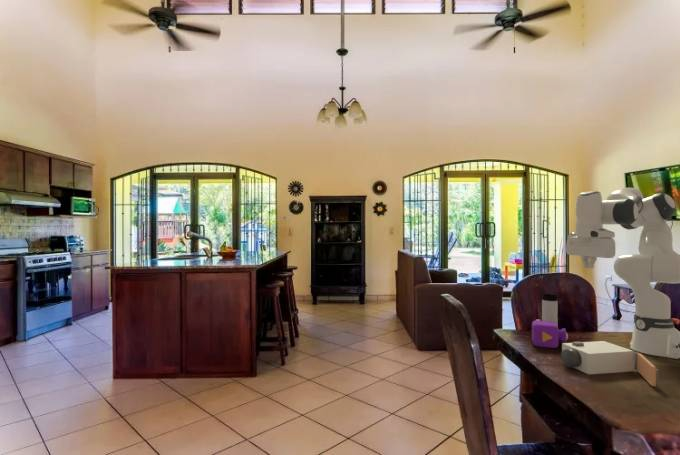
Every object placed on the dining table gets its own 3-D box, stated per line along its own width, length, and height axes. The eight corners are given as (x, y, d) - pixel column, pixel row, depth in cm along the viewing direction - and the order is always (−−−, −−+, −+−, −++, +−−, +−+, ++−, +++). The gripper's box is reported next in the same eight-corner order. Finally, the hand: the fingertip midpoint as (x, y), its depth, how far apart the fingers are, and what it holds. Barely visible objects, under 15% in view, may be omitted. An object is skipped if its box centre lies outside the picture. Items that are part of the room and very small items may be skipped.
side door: (633, 368, 134) (633, 351, 134) (641, 369, 133) (642, 352, 133) (649, 385, 119) (649, 366, 119) (658, 386, 118) (659, 367, 119)
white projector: (603, 359, 145) (603, 338, 145) (633, 371, 133) (633, 348, 133) (554, 362, 141) (555, 341, 141) (581, 375, 129) (581, 351, 129)
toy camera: (571, 350, 156) (571, 325, 156) (535, 348, 158) (535, 324, 158) (562, 342, 166) (562, 319, 166) (528, 340, 169) (528, 318, 169)
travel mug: (539, 336, 176) (539, 292, 176) (544, 333, 180) (544, 291, 180) (554, 339, 171) (554, 294, 171) (559, 336, 176) (559, 292, 176)
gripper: (561, 232, 159) (561, 265, 159) (604, 233, 139) (604, 271, 139) (575, 232, 160) (574, 265, 160) (618, 233, 140) (618, 270, 140)
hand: (588, 268), depth 149 cm, fingers closed
